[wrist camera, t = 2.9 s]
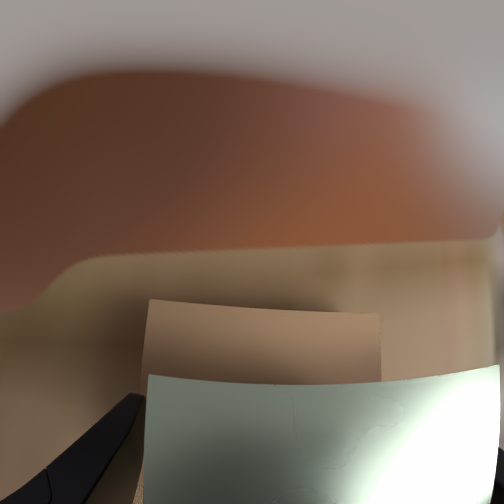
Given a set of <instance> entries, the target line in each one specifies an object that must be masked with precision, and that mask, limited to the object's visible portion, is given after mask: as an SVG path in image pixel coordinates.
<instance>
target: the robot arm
mask: <svg viewBox="0 0 504 504" xmlns="http://www.w3.org/2000/svg"><path fill="white" fill-rule="evenodd" d="M145 417H146V398H145V396H144V395H142V394H135V393H130V394H128V395H127V396H126V397H125V398H123V399H122V400H121V401H120V402H119V403H118V404H117V405H116V406H115V407H113V408H112V409H111V410H110V411H109V412H108V413H107V414H106V415H105V416H103V417H102V418H101V419H100V420H99V421H98V422H97V423H96V424H95V425H93V426H92V427H91V428H90V429H89V430H88V431H87V432H86V433H84V434H83V435H82V436H81V437H80V438H79V439H78V440H77V441H75V442H74V443H73V444H72V445H71V446H70V447H69V448H67V449H66V450H65V451H64V452H63V453H62V454H61V455H59V456H58V457H57V458H56V459H55V460H54V461H53V462H51V463H50V464H49V465H48V466H47V467H46V469H43V470H42V471H41V472H40V473H39V474H37V475H36V476H35V477H34V478H33V479H31V480H30V481H29V482H28V483H26V484H25V485H24V486H23V487H21V488H20V489H18V490H17V491H15V492H14V493H12V494H11V495H9V496H8V497H6V498H5V499H3V500H1V501H0V504H133V500H134V496H135V492H136V489H137V485H138V481H139V477H140V473H141V469H142V463H143V456H144V436H145ZM490 504H504V451H503V450H502V449H501V448H499V447H498V453H497V463H496V471H495V478H494V485H493V491H492V496H491V502H490Z"/></svg>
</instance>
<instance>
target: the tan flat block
mask: <svg viewBox="0 0 504 504" xmlns="http://www.w3.org/2000/svg"><path fill="white" fill-rule="evenodd" d="M149 374H151V375H158V376H166V377H174V378H183V379H192V380H203V381H214V382H228V383H245V384H269V385H332V384H356V383H372V382H381V347H380V327H379V313H342V312H315V311H294V310H275V309H259V308H245V307H231V306H219V305H207V304H196V303H185V302H175V301H165V300H156V299H150V301H149V307H148V315H147V322H146V330H145V338H144V347H143V356H142V365H141V376H140V387H139V394H142V395H144V396H145V398H146V402H147V389H148V377H149ZM143 466H144V456H143V463H142V469H141V473H140V477H139V481H138V486H143Z"/></svg>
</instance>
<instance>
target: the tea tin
mask: <svg viewBox="0 0 504 504" xmlns="http://www.w3.org/2000/svg"><path fill="white" fill-rule="evenodd" d="M499 425H500V375H499V365H496V366H491V367H486V368H481V369H476V370H470V371H464V372H458V373H452V374H446V375H439V376H432V377H424V378H415V379H406V380H396V381H385V382H372V383H356V384H332V385H269V384H245V383H228V382H214V381H203V380H192V379H183V378H174V377H166V376H158V375H151V374H149V377H148V389H147V402H146V417H145V436H144V466H143V504H490V502H491V496H492V491H493V485H494V478H495V471H496V463H497V453H498V442H499Z"/></svg>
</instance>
